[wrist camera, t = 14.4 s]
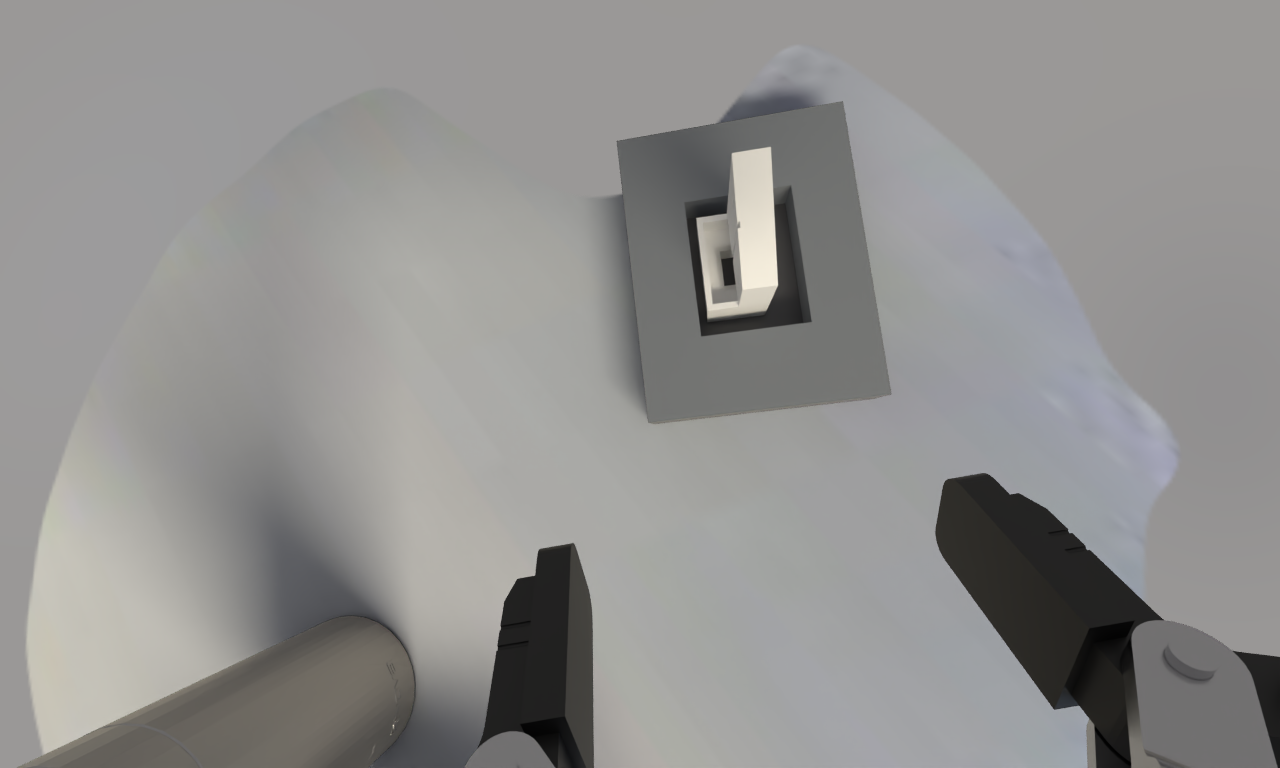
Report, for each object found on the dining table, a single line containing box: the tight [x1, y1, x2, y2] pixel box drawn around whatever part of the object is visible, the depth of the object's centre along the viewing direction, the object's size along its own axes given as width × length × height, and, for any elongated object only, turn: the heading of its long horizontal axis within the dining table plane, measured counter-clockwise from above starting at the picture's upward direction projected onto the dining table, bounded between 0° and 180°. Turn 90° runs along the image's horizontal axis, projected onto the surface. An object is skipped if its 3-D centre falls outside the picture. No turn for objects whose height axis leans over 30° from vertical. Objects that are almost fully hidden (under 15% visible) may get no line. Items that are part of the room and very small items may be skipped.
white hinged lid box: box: [696, 147, 778, 322], centre depth 32 cm, size 4×10×9 cm, turn 6°
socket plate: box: [617, 101, 891, 424], centre depth 34 cm, size 14×18×3 cm
